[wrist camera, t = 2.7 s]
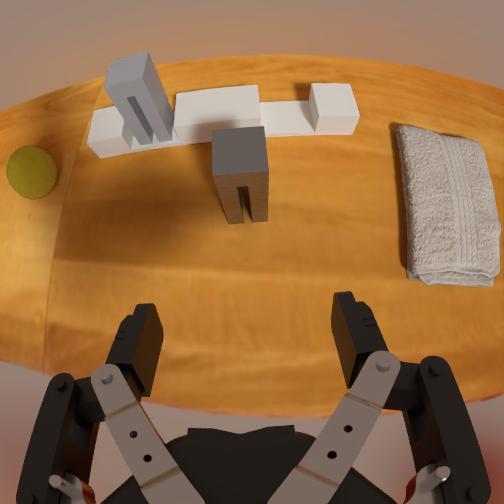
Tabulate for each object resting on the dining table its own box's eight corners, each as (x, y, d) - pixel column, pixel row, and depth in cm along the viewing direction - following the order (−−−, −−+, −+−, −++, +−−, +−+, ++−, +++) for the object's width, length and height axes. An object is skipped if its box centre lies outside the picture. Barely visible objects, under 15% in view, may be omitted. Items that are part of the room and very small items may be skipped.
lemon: (43, 166, 33) (7, 135, 25) (74, 166, 32) (38, 131, 24) (29, 207, 31) (-12, 181, 24) (60, 210, 31) (18, 182, 23)
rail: (343, 103, 33) (363, 36, 22) (352, 134, 31) (378, 68, 21) (106, 127, 33) (66, 72, 23) (100, 158, 32) (54, 106, 22)
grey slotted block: (267, 221, 30) (268, 171, 20) (228, 224, 30) (212, 175, 20) (264, 186, 30) (264, 126, 21) (227, 189, 30) (211, 130, 21)
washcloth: (403, 288, 28) (416, 283, 25) (389, 130, 32) (398, 114, 29) (490, 289, 28) (507, 285, 25) (470, 147, 32) (481, 135, 29)
